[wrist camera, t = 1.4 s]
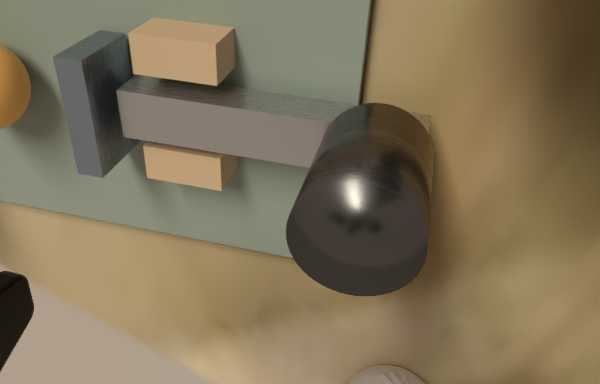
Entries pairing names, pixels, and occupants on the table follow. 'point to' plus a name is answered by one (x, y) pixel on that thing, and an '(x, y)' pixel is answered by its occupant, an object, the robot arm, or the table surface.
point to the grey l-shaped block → (272, 157)
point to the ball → (12, 87)
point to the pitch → (191, 68)
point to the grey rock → (385, 376)
